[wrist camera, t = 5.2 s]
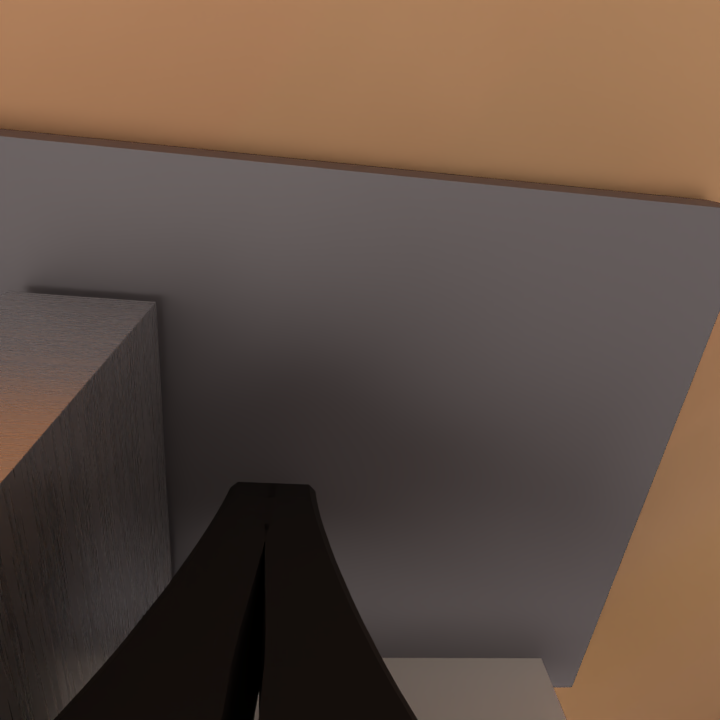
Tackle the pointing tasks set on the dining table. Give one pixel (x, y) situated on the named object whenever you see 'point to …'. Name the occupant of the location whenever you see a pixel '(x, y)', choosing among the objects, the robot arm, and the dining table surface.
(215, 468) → the base
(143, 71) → the dining table surface
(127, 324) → the grey rectangular block
